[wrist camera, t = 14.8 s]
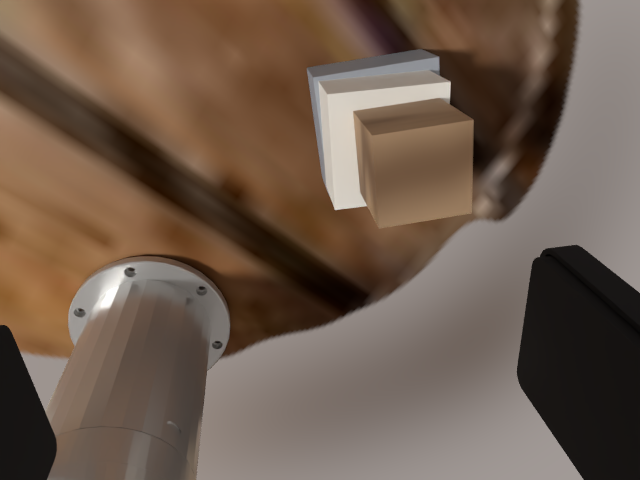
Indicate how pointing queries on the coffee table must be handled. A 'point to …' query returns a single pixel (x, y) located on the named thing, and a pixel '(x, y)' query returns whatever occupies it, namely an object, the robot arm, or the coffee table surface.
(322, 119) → the tower top
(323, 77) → the tower base
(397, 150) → the walnut cube
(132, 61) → the coffee table surface
